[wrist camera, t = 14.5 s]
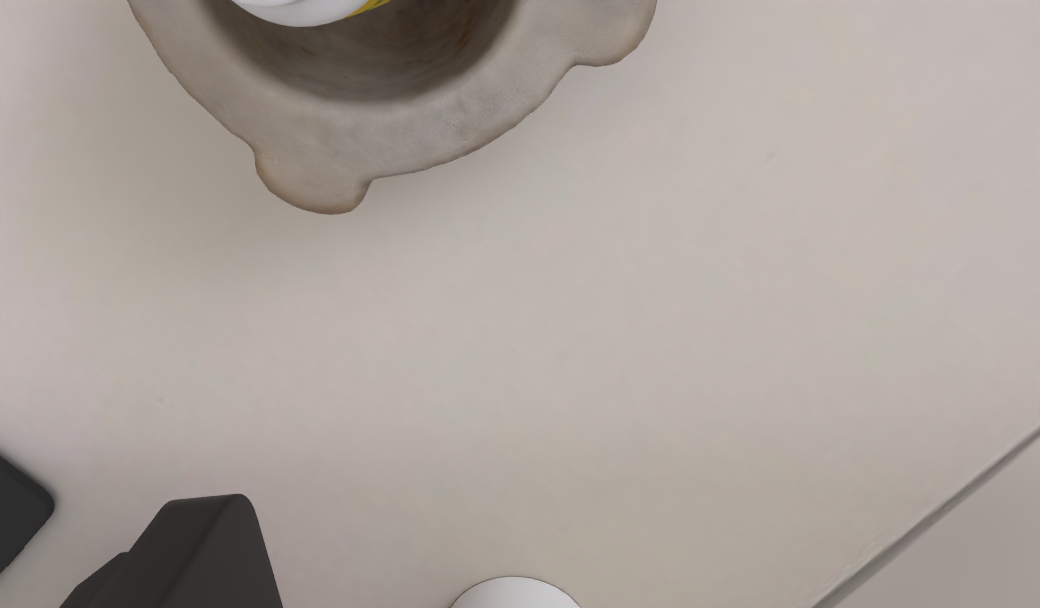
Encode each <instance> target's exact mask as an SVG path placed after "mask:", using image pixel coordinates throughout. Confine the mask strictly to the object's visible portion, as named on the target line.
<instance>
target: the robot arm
mask: <svg viewBox="0 0 1040 608" xmlns="http://www.w3.org/2000/svg"><path fill="white" fill-rule="evenodd" d="M60 608H283V606H282V602H281V599H280V595H279V592H278V588H277V585H276V581H275V578H274V574H273V571H272V567H271V564H270V560H269V557H268V554H267V550H266V547H265V543H264V540H263V536H262V533H261V529H260V526H259V522H258V519H257V515H256V513H255V510H254V507H253V505H252V503H251V502H250V500H249V499H248V498H247V497H246V496H244V495H242V494H231V495H220V496H210V497H199V498H189V499H178V500H172V501H169V502H167V503H166V504H165V505H164V506H163V507H162V508H161V509H160V511H159V512H158V513H157V515H156V516H155V517H154V519H153V520H152V521H151V523H150V524H149V525H148V527H147V528H146V529H145V531H144V532H143V533H142V535H141V536H140V537H139V539H138V540H137V541H136V543H135V544H134V545H133V547H132V548H131V549H130V551H129V552H123V553H120V554H118V555H117V556H116V557H114V558H113V559H112V560H110V561H109V562H108V563H107V564H105V565H104V566H103V567H101V568H100V569H99V570H97V571H96V572H95V573H93V574H92V575H91V576H90V577H88V578H87V579H86V580H84V581H83V582H82V583H80V584H79V585H78V586H76V588H75V589H74V590H73V591H72V593H71V594H70V595H69V596H68V598H67V599H66V600H65V601H64V603H63V604H62V605H61V606H60Z"/></svg>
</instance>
